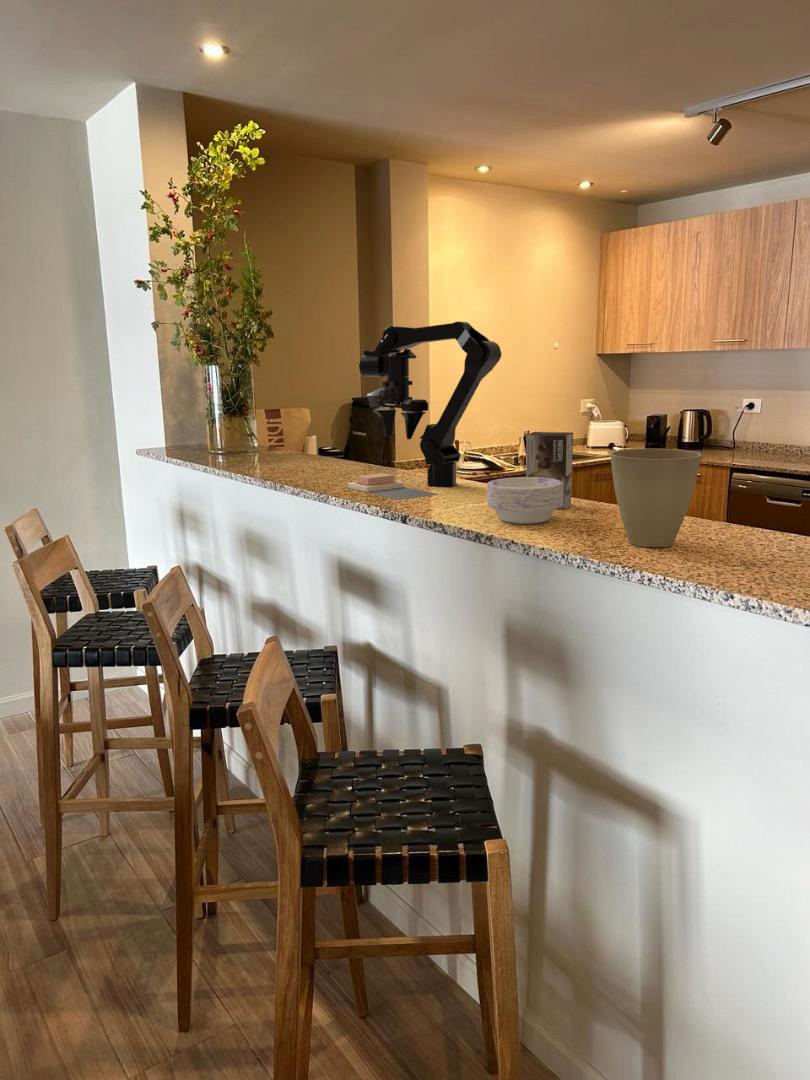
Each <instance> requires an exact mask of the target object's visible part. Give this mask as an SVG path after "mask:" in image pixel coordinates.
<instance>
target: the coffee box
mask: <svg viewBox="0 0 810 1080" xmlns="http://www.w3.org/2000/svg"><path fill="white" fill-rule="evenodd" d="M525 438H526V439H525V440H526V441H525V442H526V457H525V458H526V463H525V465H526V466H525V469H526V471H525V475H526V476H525V477H540V478H550V479H556V480H559V481H562V482H563V506H561V507H560V508H558V509H559V510H560V509H561V510H563V509H564V510H566V509H568V508H569V507H570V506H572V484H573V482H572V481H573V451H574V450H573V449H574V447H573V446H574V432H570V431H569V432H567V431H565V432H563V431H560V432H559V431H556V432H555V431H533V432H530V433H529V434H526V437H525Z"/></svg>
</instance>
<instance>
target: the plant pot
mask: <svg viewBox="0 0 810 1080" xmlns="http://www.w3.org/2000/svg"><path fill="white" fill-rule="evenodd" d="M609 456H610V464H611V473H612V480H613V487H614V492H615V497H616V502H617V506H618V510H619V511H618V512H619V514H620V517H621V518H620V519H621V521H622V525H623V529H624V531H625V535H626V537H627V540H628V543H629V542H630V543H631V545H632V544H634V545H633V546H635V545H637V546H636V547H639V546H644V547H643V548H646V547H664V548H667V547H666V546H669V547H671V546H673V545H674V543H675V540H676V538H677V536H678V534H679V532H680V529H681V527H682V525H683V522H684V520H685V516H686V514H687V512H688V508H689V505H690V502H691V499H692V496H693V492H694V490H695V487H696V486H695V485H696V481H697V478H698V473H699V469H700V464H701V459H702V453H700V452H697V451H692V450H687V449H686V450H685V449H675V448H674V449H673V448H631V449H630V448H628V449H618V450H614V451H612V452H610V455H609ZM630 543H629V544H630ZM672 544H673V545H672Z"/></svg>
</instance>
